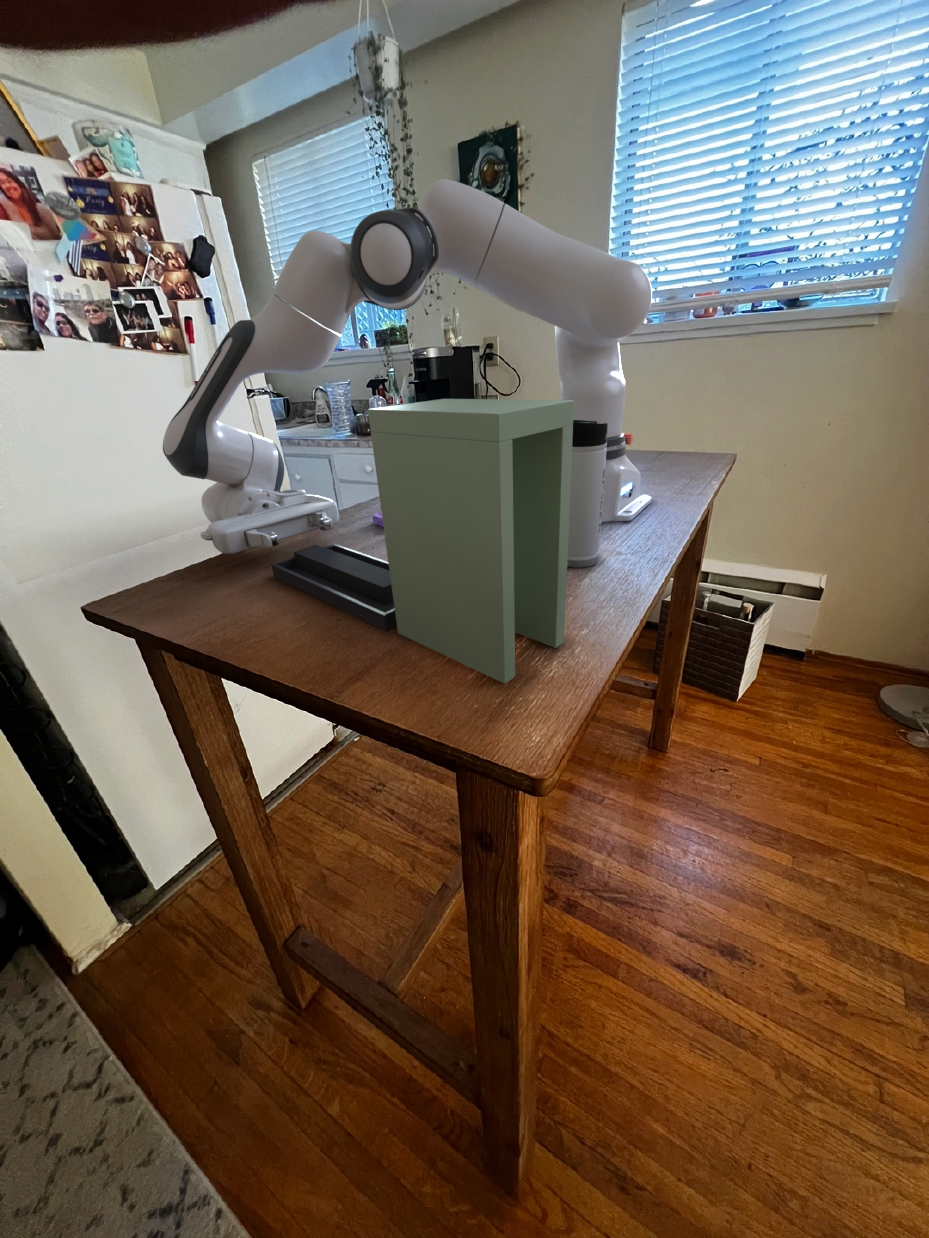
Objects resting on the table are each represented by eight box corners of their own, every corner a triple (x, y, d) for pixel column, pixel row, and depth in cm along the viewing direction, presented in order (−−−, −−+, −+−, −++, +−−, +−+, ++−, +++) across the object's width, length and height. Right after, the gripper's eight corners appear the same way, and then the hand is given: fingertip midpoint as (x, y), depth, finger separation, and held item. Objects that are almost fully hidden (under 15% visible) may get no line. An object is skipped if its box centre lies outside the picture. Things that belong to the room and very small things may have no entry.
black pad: (319, 559, 79) (316, 544, 78) (409, 594, 66) (407, 577, 64) (296, 567, 77) (293, 552, 76) (386, 605, 63) (383, 587, 62)
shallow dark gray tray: (336, 555, 82) (334, 543, 81) (453, 598, 65) (452, 583, 64) (273, 577, 76) (270, 564, 75) (386, 631, 58) (383, 615, 57)
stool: (458, 602, 64) (444, 398, 53) (564, 642, 54) (574, 400, 43) (397, 633, 58) (367, 409, 47) (504, 684, 48) (498, 413, 37)
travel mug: (545, 558, 76) (548, 417, 67) (581, 550, 78) (589, 412, 69) (569, 571, 71) (575, 421, 62) (607, 562, 73) (619, 415, 64)
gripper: (189, 514, 76) (228, 530, 67) (308, 487, 89) (354, 497, 80) (202, 553, 79) (240, 573, 70) (315, 521, 92) (360, 535, 83)
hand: (302, 532), depth 75 cm, fingers open, 8 cm apart
